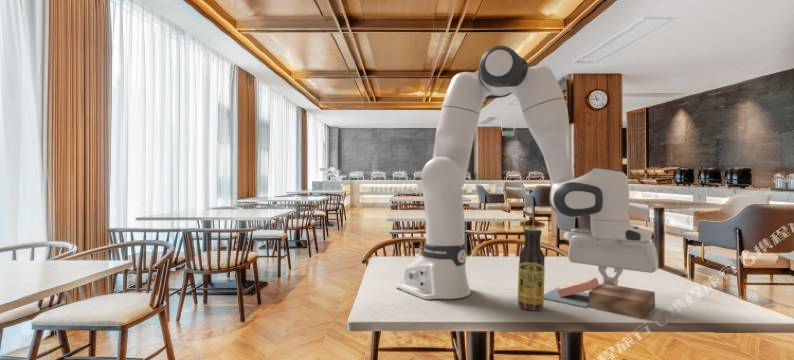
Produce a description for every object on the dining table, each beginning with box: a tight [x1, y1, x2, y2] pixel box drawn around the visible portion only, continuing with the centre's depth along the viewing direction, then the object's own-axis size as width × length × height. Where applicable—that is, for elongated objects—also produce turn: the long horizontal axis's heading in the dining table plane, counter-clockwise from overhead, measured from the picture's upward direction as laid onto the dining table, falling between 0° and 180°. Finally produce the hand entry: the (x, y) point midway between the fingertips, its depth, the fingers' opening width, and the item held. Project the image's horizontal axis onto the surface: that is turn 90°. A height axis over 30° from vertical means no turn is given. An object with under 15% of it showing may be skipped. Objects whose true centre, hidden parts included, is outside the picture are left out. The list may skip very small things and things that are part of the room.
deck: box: [588, 282, 656, 320], centre depth 96 cm, size 12×11×4 cm
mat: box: [544, 287, 589, 309], centre depth 104 cm, size 12×13×1 cm
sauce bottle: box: [517, 228, 546, 311], centre depth 96 cm, size 6×6×20 cm
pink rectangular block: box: [557, 277, 600, 297], centre depth 103 cm, size 9×6×2 cm, turn 46°
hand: (610, 284), depth 97 cm, fingers closed
